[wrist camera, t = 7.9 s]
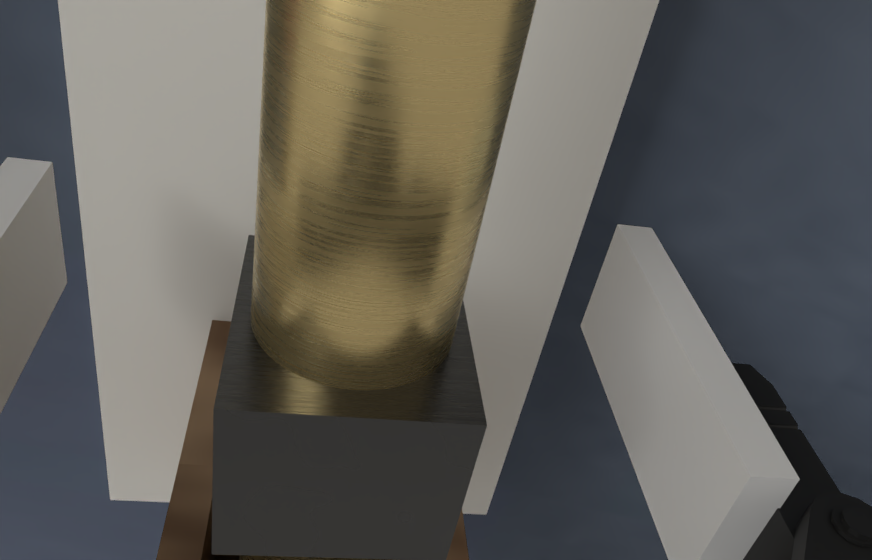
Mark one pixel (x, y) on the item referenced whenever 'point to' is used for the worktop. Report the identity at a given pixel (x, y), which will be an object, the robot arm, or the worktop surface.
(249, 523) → the brass rod
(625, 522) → the worktop surface
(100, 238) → the base board
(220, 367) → the walnut socket
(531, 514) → the worktop surface
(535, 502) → the worktop surface
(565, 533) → the worktop surface
